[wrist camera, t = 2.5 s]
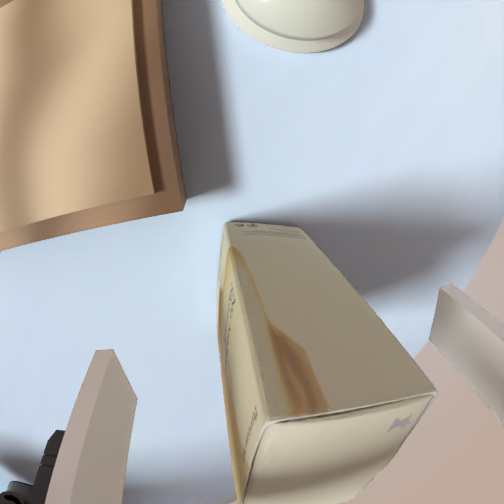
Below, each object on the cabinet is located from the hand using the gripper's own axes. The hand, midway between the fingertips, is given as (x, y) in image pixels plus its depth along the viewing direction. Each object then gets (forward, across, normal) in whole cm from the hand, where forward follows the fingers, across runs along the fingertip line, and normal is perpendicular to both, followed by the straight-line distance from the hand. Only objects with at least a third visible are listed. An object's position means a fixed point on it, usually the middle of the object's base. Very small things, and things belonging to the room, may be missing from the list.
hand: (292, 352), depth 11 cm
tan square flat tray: (+7, -10, +12) cm, 17 cm away
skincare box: (+7, 0, 0) cm, 7 cm away
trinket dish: (+8, +4, +16) cm, 18 cm away
